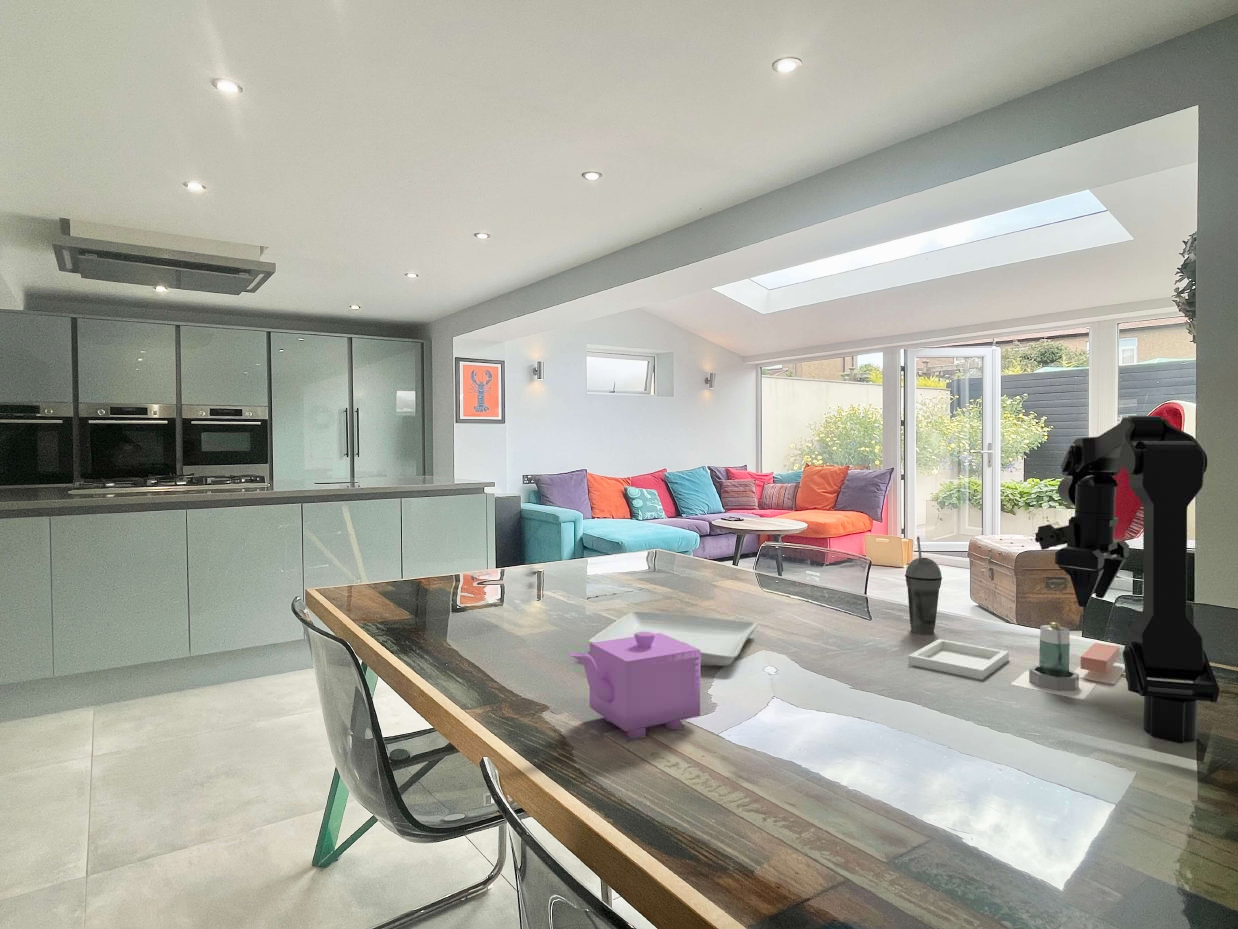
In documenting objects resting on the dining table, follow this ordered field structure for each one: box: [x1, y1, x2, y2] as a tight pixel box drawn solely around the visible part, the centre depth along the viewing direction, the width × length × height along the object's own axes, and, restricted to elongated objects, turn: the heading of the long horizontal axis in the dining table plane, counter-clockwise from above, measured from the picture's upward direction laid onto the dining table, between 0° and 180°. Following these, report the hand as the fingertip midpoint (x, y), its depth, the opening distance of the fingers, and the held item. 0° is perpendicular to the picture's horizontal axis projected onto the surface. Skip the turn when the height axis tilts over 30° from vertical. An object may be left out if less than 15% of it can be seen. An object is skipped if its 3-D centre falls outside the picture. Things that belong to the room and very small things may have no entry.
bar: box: [1080, 642, 1120, 673], centre depth 123 cm, size 12×4×2 cm, turn 137°
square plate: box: [587, 610, 759, 667], centre depth 140 cm, size 27×27×4 cm
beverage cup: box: [904, 536, 943, 635], centre depth 152 cm, size 7×7×20 cm
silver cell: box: [1038, 621, 1071, 677], centre depth 116 cm, size 4×4×10 cm
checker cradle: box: [1009, 662, 1125, 701], centre depth 121 cm, size 26×12×3 cm, turn 137°
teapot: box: [569, 632, 701, 739], centre depth 100 cm, size 20×10×12 cm, turn 120°
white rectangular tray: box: [907, 638, 1010, 680], centre depth 128 cm, size 15×12×2 cm
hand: (1091, 602), depth 124 cm, fingers open, 9 cm apart
